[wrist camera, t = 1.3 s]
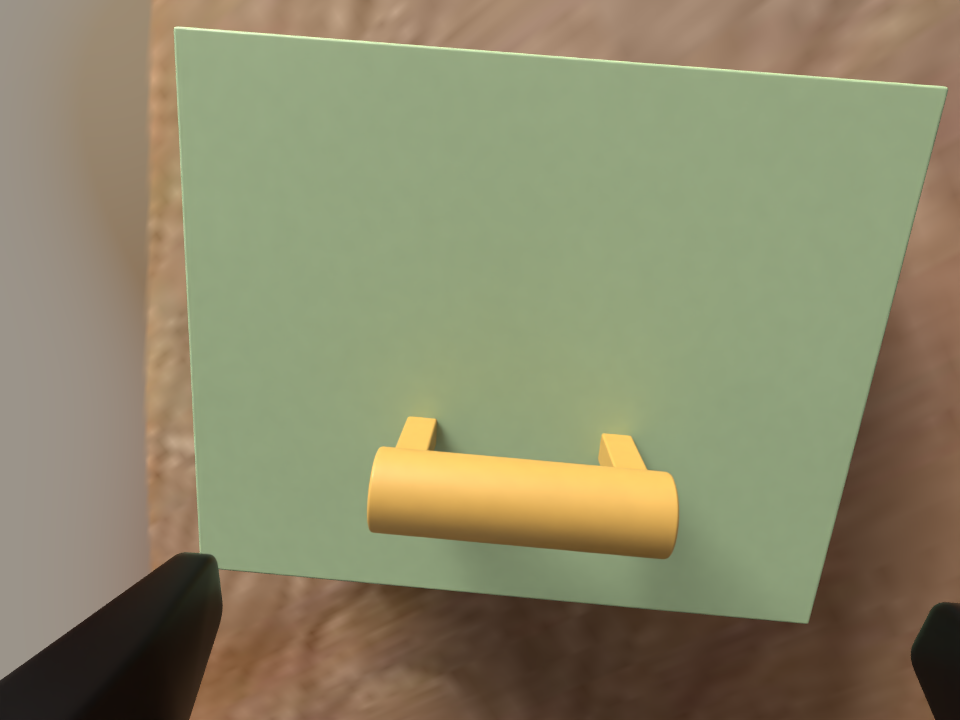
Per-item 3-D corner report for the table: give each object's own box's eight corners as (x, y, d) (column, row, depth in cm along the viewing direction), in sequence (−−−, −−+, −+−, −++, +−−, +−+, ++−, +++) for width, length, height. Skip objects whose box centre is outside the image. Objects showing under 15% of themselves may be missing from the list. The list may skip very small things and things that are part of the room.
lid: (796, 607, 17) (898, 758, 12) (211, 552, 17) (109, 682, 13) (927, 91, 13) (1134, 48, 9) (188, 32, 13) (37, -36, 9)
